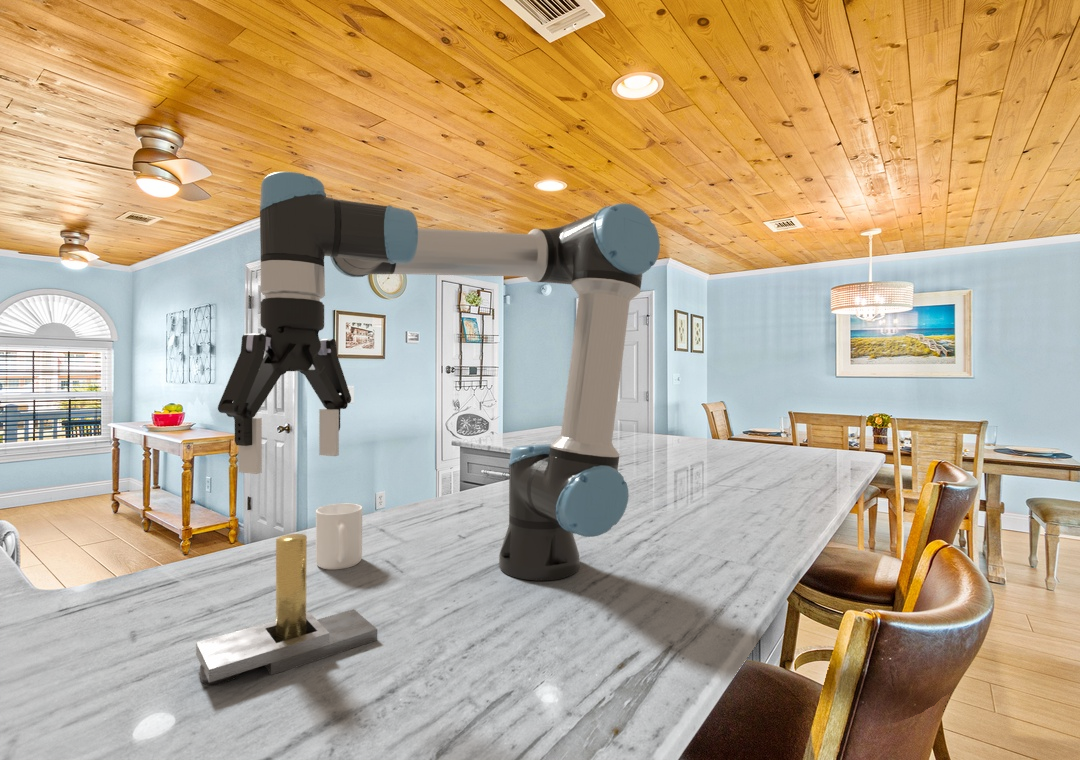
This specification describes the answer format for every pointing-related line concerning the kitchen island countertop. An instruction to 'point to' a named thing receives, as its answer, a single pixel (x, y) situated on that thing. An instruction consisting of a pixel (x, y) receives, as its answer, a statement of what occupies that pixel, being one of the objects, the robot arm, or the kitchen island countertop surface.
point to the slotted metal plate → (280, 646)
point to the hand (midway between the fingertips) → (293, 463)
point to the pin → (290, 586)
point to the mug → (338, 536)
